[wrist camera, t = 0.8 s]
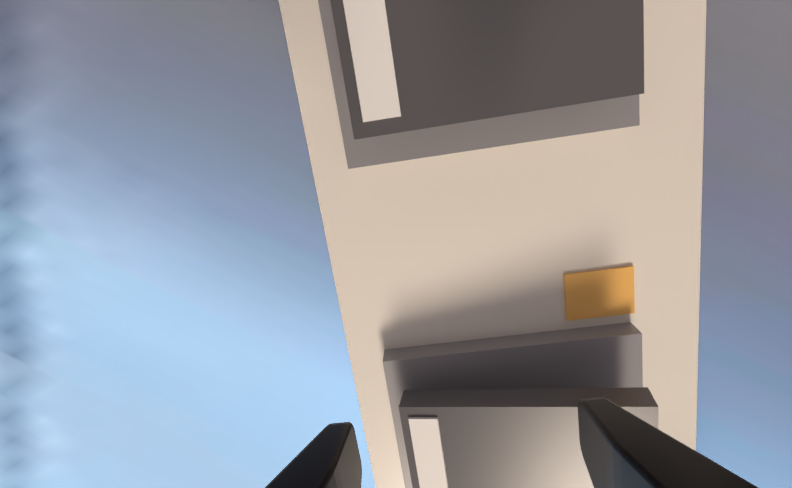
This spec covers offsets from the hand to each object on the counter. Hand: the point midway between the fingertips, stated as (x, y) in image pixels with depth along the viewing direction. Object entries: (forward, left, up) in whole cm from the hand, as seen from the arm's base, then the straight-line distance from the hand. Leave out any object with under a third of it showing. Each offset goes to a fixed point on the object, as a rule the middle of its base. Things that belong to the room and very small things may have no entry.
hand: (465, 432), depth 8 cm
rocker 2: (-2, +6, -7) cm, 9 cm away
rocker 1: (-2, -7, -7) cm, 10 cm away
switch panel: (-2, -2, -11) cm, 11 cm away
